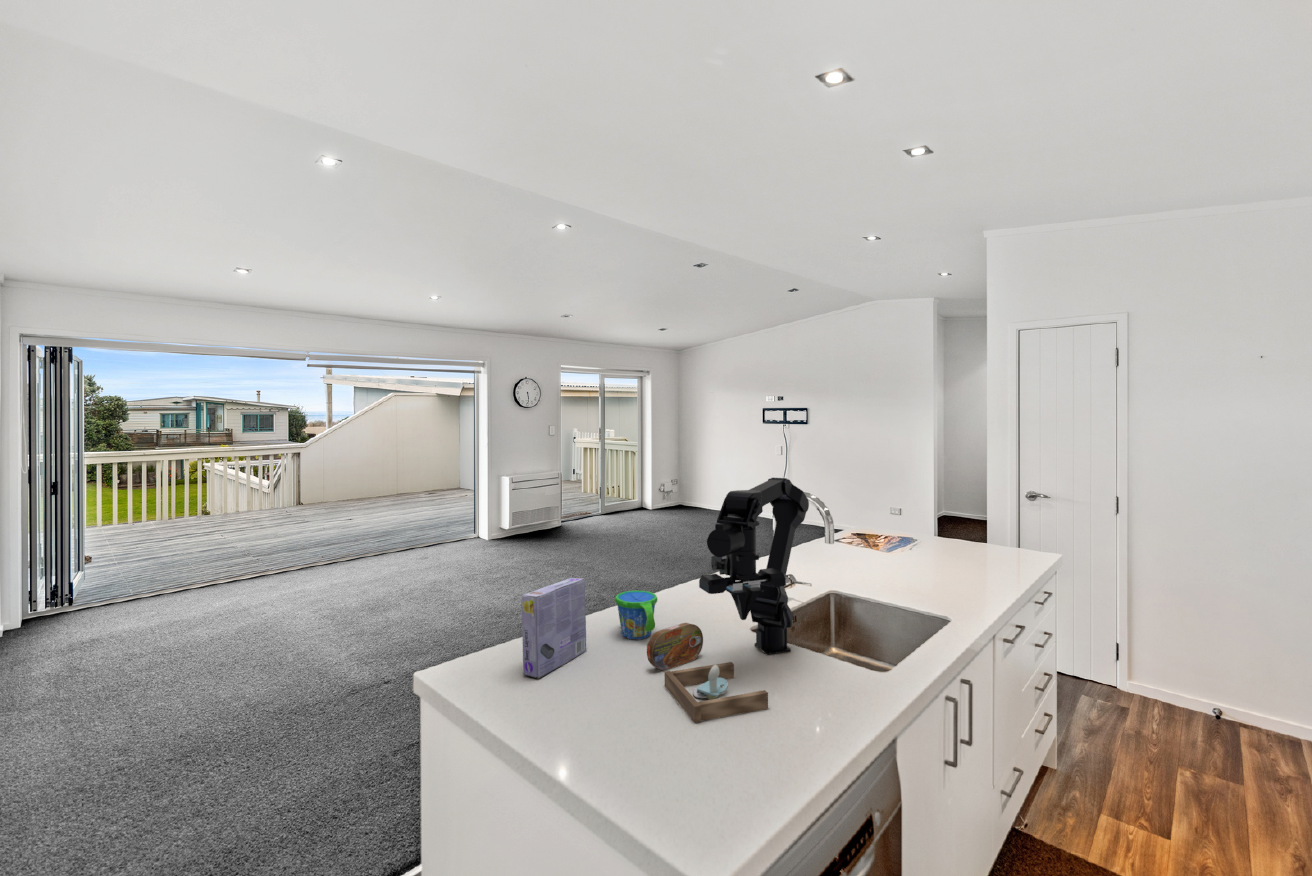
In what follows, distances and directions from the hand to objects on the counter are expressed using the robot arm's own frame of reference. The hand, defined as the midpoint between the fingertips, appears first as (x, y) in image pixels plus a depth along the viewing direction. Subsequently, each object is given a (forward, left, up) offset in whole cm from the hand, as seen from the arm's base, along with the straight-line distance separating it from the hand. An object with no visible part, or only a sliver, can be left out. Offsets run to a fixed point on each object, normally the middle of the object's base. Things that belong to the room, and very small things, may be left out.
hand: (743, 619), depth 128 cm
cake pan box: (+38, -18, -11) cm, 44 cm away
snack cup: (+16, -28, -11) cm, 34 cm away
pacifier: (+12, +8, -11) cm, 18 cm away
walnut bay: (+12, +10, -11) cm, 19 cm away
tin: (+13, -8, -11) cm, 19 cm away
